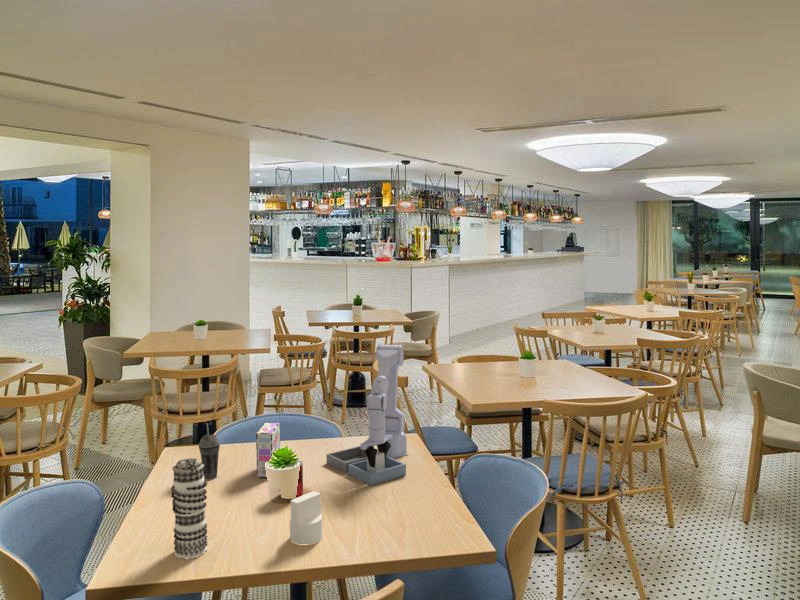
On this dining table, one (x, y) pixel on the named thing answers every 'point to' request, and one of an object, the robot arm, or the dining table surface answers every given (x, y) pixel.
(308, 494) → the cylinder with rectangular tab
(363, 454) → the grey bin
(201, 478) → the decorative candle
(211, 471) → the beverage cup
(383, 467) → the cream block
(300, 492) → the canned food
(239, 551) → the dining table surface
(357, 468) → the slate blue bin
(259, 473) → the candy box
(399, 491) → the dining table surface
